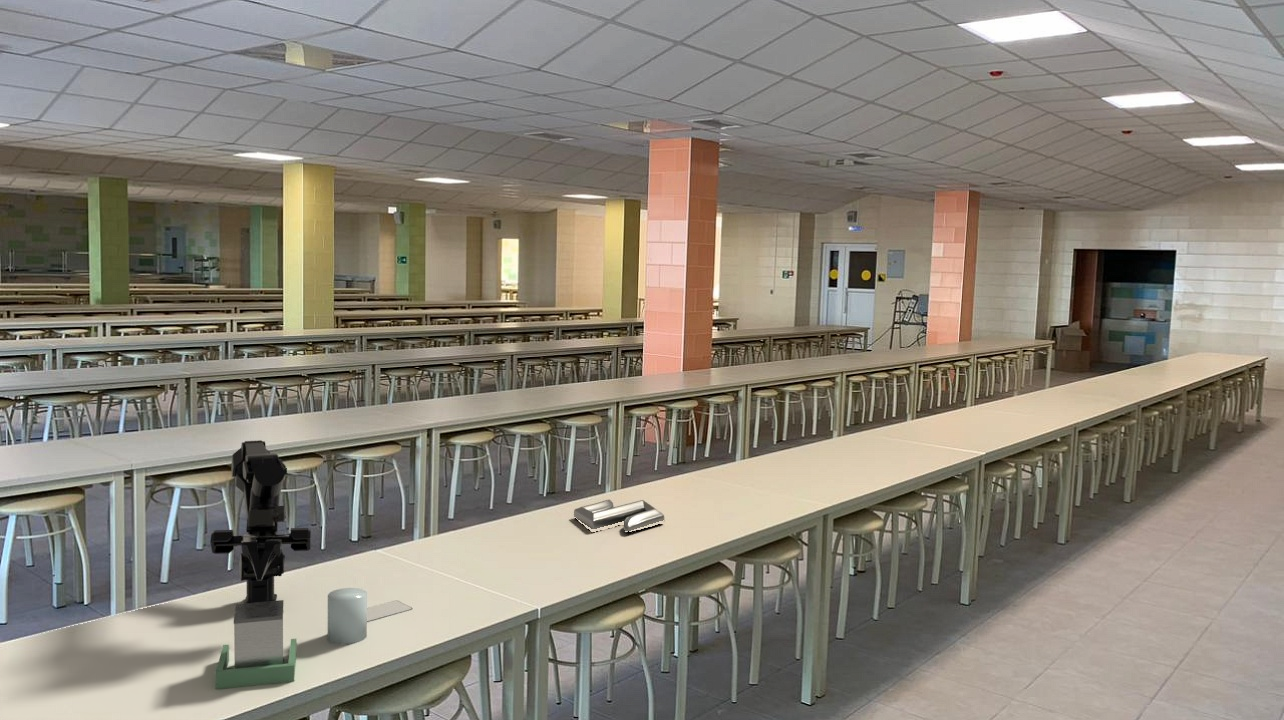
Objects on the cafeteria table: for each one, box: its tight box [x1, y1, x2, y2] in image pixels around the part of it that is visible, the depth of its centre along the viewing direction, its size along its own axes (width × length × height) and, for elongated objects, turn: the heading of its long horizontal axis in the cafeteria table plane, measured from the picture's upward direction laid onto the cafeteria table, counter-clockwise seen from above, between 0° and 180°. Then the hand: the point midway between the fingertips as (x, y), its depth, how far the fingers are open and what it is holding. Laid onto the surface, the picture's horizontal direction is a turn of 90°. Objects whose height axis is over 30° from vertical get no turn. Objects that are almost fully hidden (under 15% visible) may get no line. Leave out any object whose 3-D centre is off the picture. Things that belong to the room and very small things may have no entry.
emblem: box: [573, 499, 665, 532], centre depth 279 cm, size 28×5×28 cm
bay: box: [214, 638, 297, 690], centre depth 170 cm, size 12×13×3 cm
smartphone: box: [367, 600, 413, 623], centre depth 200 cm, size 7×1×15 cm
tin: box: [233, 599, 284, 669], centre depth 170 cm, size 8×8×12 cm
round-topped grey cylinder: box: [327, 587, 368, 645], centre depth 186 cm, size 8×8×9 cm
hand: (259, 580), depth 182 cm, fingers closed
